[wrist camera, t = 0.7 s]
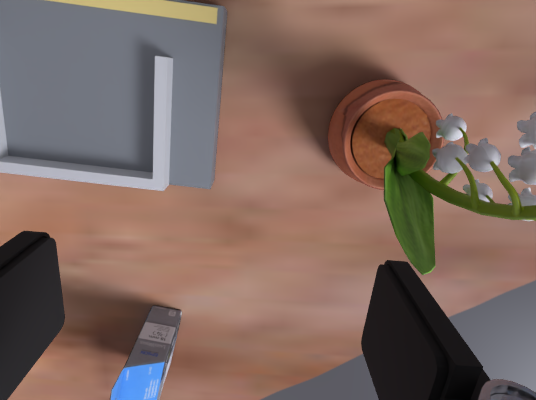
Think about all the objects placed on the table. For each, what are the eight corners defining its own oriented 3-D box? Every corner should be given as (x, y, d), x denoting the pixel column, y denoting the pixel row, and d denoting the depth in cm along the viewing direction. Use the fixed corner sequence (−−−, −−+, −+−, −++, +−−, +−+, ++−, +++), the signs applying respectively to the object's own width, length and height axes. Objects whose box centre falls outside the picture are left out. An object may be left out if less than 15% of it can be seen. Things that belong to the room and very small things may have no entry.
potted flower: (370, 39, 34) (609, -19, 10) (457, 90, 35) (833, 140, 12) (307, 152, 37) (379, 298, 14) (388, 194, 39) (575, 387, 16)
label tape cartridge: (171, 365, 47) (140, 463, 35) (140, 359, 47) (100, 457, 35) (183, 310, 44) (154, 397, 32) (151, 303, 44) (110, 389, 32)
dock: (-49, -28, 32) (-104, -44, 27) (227, 11, 33) (221, 2, 28) (-22, 152, 37) (-64, 165, 32) (214, 180, 38) (207, 196, 34)
